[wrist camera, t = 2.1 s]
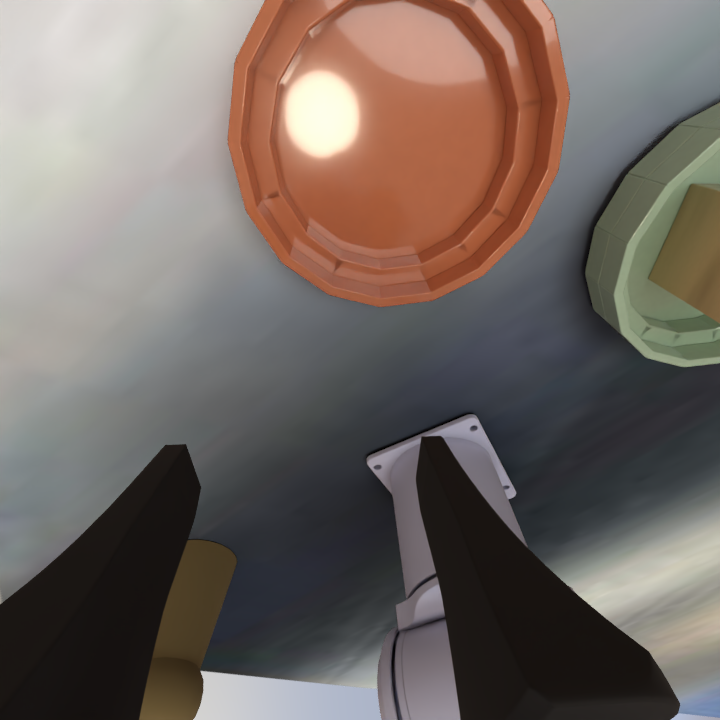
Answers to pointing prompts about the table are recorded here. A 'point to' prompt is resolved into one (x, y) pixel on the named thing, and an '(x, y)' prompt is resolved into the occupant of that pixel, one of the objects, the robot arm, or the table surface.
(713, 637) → the table surface
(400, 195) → the terracotta bowl
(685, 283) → the box
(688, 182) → the celadon bowl
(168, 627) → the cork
